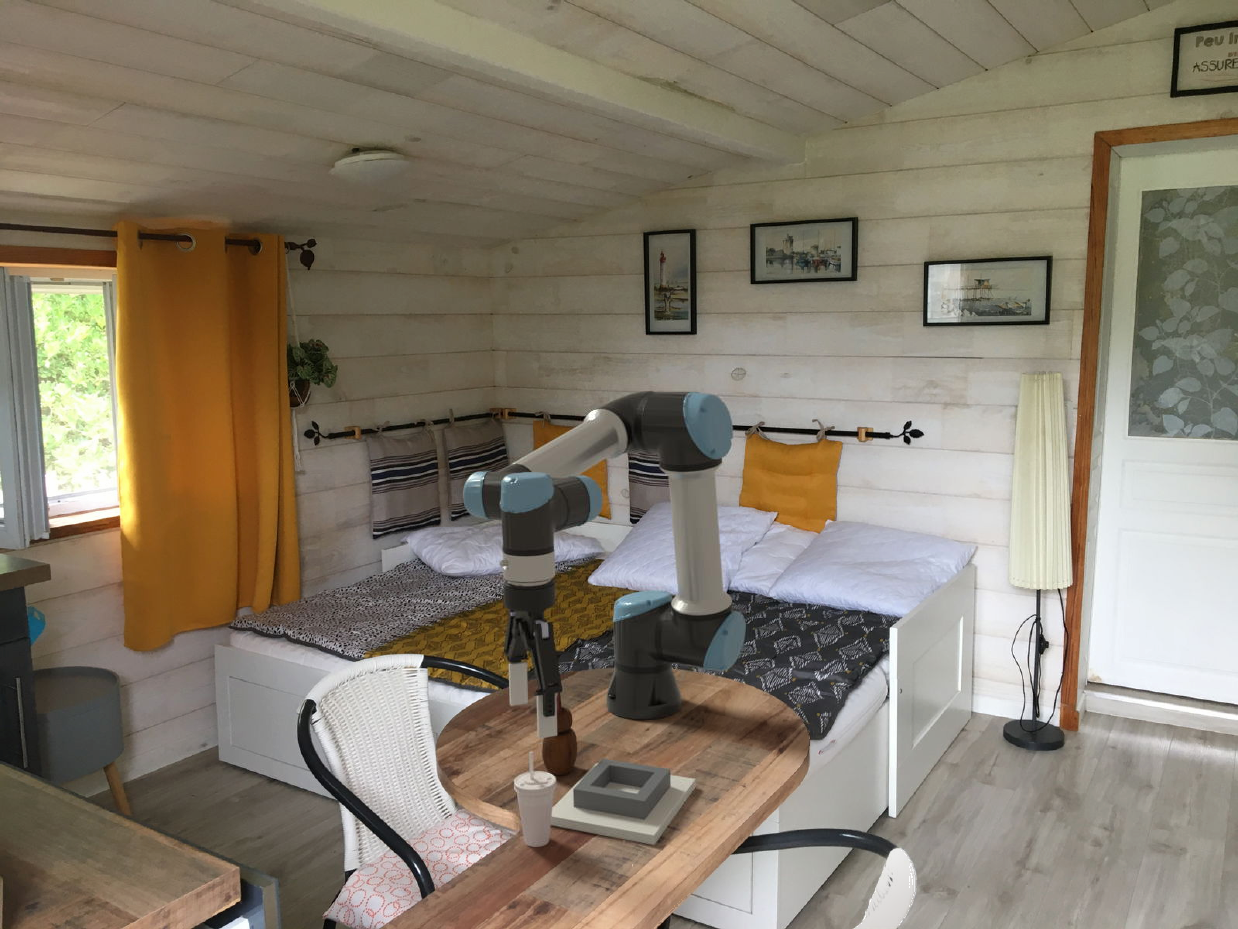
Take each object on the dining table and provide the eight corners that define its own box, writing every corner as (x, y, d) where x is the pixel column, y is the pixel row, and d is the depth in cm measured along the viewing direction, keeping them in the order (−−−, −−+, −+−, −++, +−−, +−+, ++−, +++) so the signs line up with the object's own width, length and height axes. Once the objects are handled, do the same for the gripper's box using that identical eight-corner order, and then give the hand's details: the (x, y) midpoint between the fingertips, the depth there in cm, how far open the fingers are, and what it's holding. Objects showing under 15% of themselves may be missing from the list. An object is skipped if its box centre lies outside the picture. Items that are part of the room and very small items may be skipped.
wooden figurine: (571, 780, 174) (569, 696, 172) (539, 778, 175) (536, 694, 173) (581, 763, 181) (579, 682, 179) (549, 761, 182) (547, 680, 180)
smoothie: (528, 827, 159) (525, 741, 157) (565, 834, 156) (563, 747, 154) (508, 847, 153) (505, 758, 151) (546, 855, 150) (543, 764, 148)
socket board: (596, 771, 178) (596, 746, 177) (695, 787, 171) (695, 762, 170) (545, 824, 159) (544, 797, 159) (654, 845, 153) (653, 816, 152)
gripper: (481, 564, 159) (485, 695, 161) (530, 603, 136) (534, 755, 139) (527, 559, 161) (530, 688, 164) (583, 597, 139) (586, 746, 142)
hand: (532, 719), depth 151 cm, fingers open, 13 cm apart
